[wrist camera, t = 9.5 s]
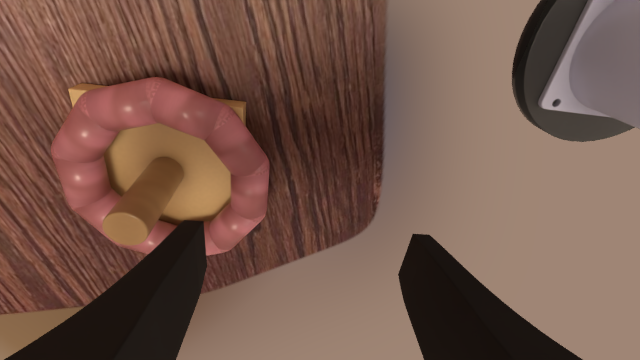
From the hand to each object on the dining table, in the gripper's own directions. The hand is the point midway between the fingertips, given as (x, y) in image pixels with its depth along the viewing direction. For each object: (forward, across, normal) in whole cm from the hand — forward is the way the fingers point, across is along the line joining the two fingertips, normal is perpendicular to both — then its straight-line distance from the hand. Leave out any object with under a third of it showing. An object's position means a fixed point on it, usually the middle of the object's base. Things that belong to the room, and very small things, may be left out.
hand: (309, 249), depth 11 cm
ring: (+8, +8, +3) cm, 11 cm away
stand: (+10, +8, +3) cm, 13 cm away
